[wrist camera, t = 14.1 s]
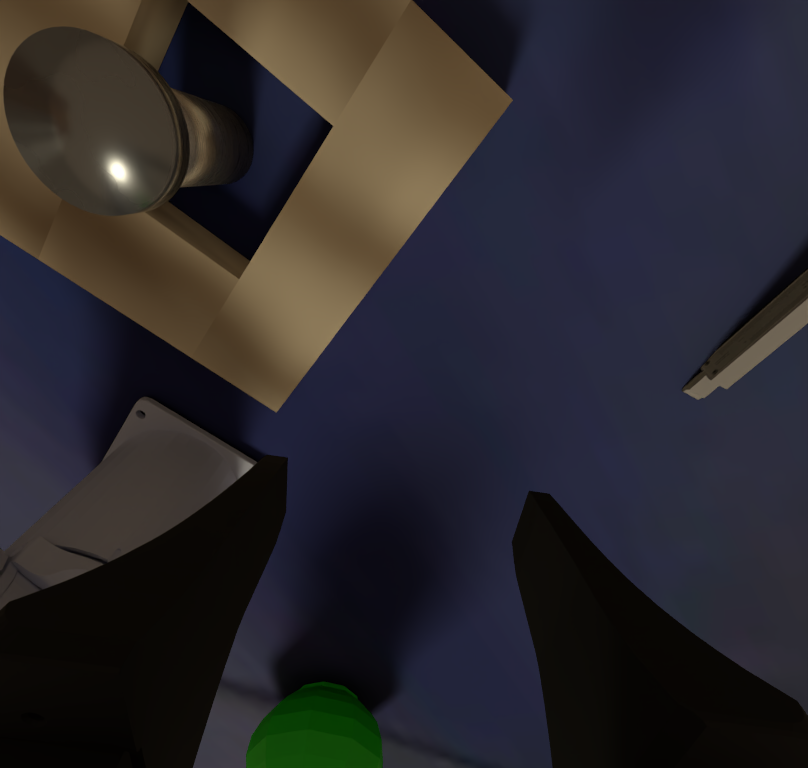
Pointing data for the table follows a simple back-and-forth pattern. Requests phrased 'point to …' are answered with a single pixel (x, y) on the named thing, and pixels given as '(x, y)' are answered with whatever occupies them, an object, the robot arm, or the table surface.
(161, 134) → the steel pin
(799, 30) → the table surface
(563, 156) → the table surface
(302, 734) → the plastic bottle
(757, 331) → the caliper
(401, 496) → the table surface
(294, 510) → the table surface
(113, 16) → the square wooden frame
